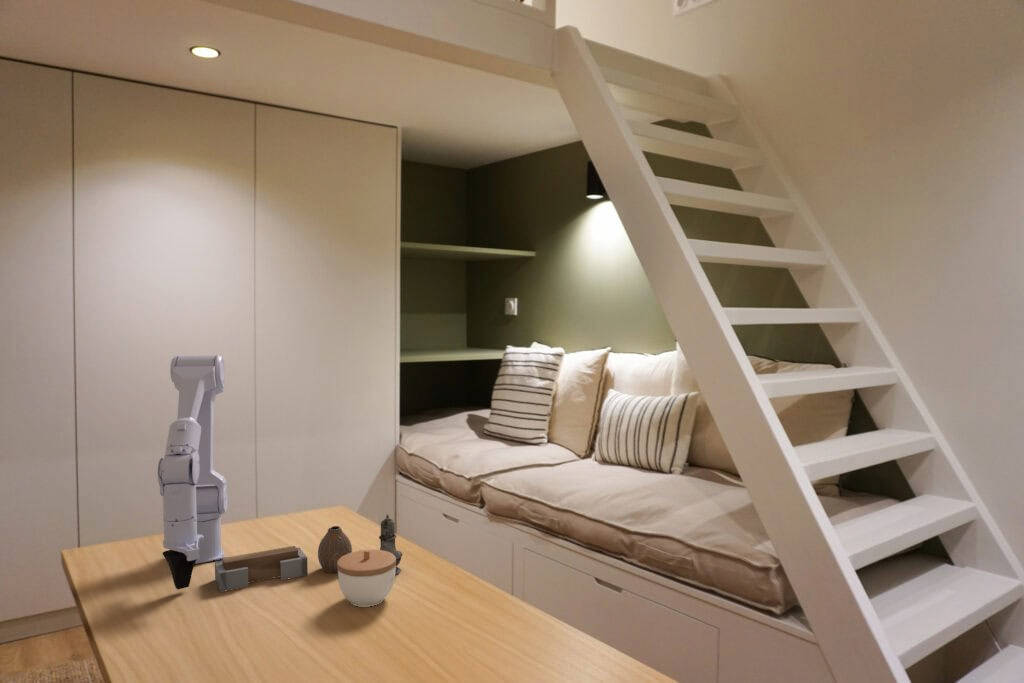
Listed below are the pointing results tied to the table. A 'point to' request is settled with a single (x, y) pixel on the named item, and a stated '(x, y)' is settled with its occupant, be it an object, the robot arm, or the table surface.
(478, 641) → the table surface
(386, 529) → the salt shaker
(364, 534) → the table surface
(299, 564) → the cap far
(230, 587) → the gray u-shaped clamp
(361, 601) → the lidded jar
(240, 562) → the slat
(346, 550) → the vase
